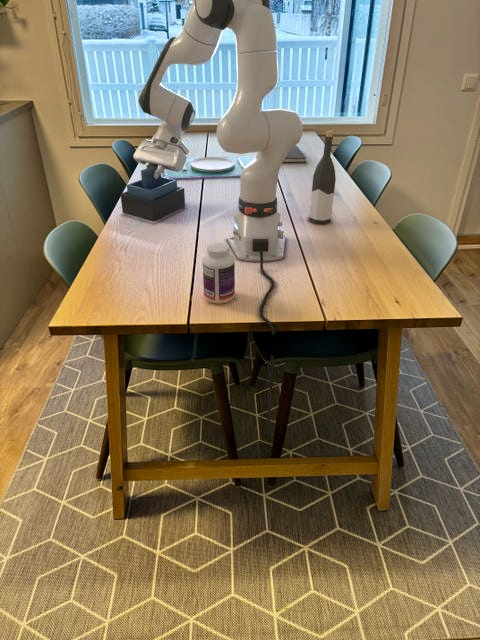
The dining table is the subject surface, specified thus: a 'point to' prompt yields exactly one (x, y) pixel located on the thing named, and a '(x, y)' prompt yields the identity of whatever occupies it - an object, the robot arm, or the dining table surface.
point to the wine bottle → (323, 186)
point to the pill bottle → (218, 273)
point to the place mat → (210, 168)
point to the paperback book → (295, 156)
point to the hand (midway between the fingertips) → (150, 177)
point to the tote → (153, 205)
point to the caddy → (151, 185)
